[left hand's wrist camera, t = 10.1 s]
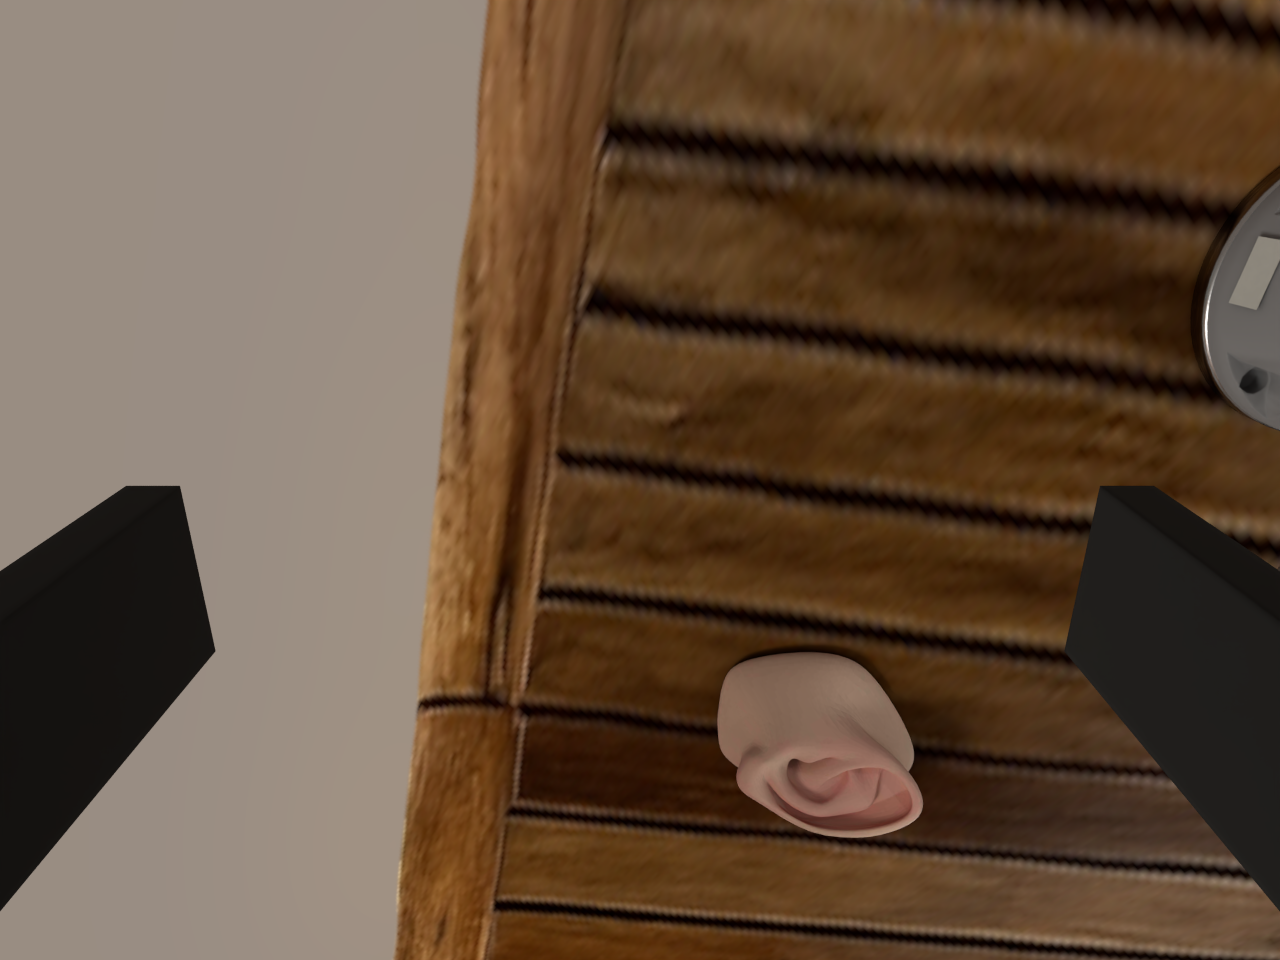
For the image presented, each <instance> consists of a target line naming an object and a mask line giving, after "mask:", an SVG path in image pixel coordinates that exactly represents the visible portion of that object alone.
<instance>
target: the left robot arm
mask: <svg viewBox="0 0 1280 960" xmlns="http://www.w3.org/2000/svg"><path fill="white" fill-rule="evenodd" d="M1191 336H1192V343H1193V348H1194V352H1195V356H1196V360H1197V362H1198V365H1199V367H1200V370H1201V372H1202V374H1203V376H1204V377H1205V379H1206V381H1207V382H1208V384H1209V385H1210V387H1211V388H1212V390H1213V391H1214V392H1215V393H1216V394H1217V395H1218V396H1219V397H1220V398H1221V399H1222V400H1223V401H1224V402H1225V403H1226V404H1227V405H1229V406H1230V407H1231V408H1233V409H1234V410H1236V411H1237V412H1239V413H1240V414H1242V415H1244V416H1246V417H1248V418H1250V419H1252V420H1255V421H1257V422H1259V423H1261V424H1263V425H1266V426H1268V427H1271V428H1273V429H1276V430H1279V431H1280V168H1278V169H1277V170H1276V171H1274V172H1273V173H1272V174H1271V175H1269V176H1268V177H1267V178H1266V179H1264V180H1263V181H1262V182H1261V183H1260V184H1259V185H1258V186H1257V187H1256V188H1254V189H1253V190H1252V191H1251V192H1250V193H1249V194H1248V195H1247V197H1246V198H1245V199H1244V200H1243V201H1242V202H1241V203H1240V204H1239V205H1238V206H1237V208H1236V209H1235V210H1234V211H1233V213H1232V214H1231V215H1230V216H1229V218H1228V219H1227V221H1226V222H1225V224H1224V225H1223V227H1222V228H1221V229H1220V231H1219V232H1218V234H1217V236H1216V238H1215V239H1214V241H1213V243H1212V245H1211V247H1210V249H1209V251H1208V253H1207V255H1206V257H1205V259H1204V262H1203V264H1202V267H1201V270H1200V272H1199V275H1198V279H1197V282H1196V286H1195V290H1194V295H1193V301H1192V308H1191ZM214 652H215V647H214V642H213V637H212V633H211V628H210V623H209V619H208V614H207V609H206V605H205V600H204V596H203V591H202V586H201V582H200V577H199V572H198V568H197V563H196V559H195V554H194V549H193V544H192V540H191V535H190V531H189V526H188V521H187V517H186V512H185V507H184V503H183V498H182V493H181V489H180V486H125V487H124V488H122V489H121V490H120V491H118V492H117V493H115V494H114V495H112V496H111V497H109V498H108V499H106V500H105V501H103V502H102V503H100V504H99V505H97V506H96V507H94V508H93V509H91V510H90V511H88V512H87V513H85V514H84V515H83V516H81V517H80V518H78V519H77V520H75V521H74V522H72V523H71V524H69V525H68V526H66V527H65V528H63V529H62V530H60V531H59V532H57V533H56V534H54V535H53V536H52V537H50V538H49V539H47V540H46V541H44V542H43V543H41V544H40V545H38V546H37V547H35V548H34V549H32V550H31V551H29V552H28V553H26V554H25V555H23V556H22V557H20V558H19V559H18V560H16V561H15V562H13V563H12V564H10V565H9V566H7V567H6V568H4V569H3V570H1V571H0V911H1V910H2V908H3V907H4V906H5V905H6V904H7V902H8V901H9V900H10V899H11V898H12V896H13V895H14V894H15V893H16V891H17V890H18V889H19V888H20V887H21V885H22V884H23V883H24V882H25V881H26V879H27V878H28V877H29V876H30V875H31V873H32V872H33V871H34V870H35V869H36V867H37V866H38V865H39V864H40V862H41V861H42V860H43V859H44V858H45V856H46V855H47V854H48V853H49V852H50V850H51V849H52V848H53V847H54V846H55V844H56V843H57V842H58V841H59V840H60V838H61V837H62V836H63V835H64V833H65V832H66V831H67V830H68V829H69V827H70V826H71V825H72V824H73V823H74V821H75V820H76V819H77V818H78V817H79V815H80V814H81V813H82V812H83V810H84V809H85V808H86V807H87V806H88V805H89V803H90V802H91V801H92V800H93V798H94V797H95V796H96V795H97V794H98V792H99V791H100V790H101V789H102V787H103V786H104V785H105V784H106V783H107V782H108V780H109V779H110V778H111V777H112V775H113V774H114V773H115V772H116V771H117V769H118V768H119V767H120V766H121V765H122V763H123V762H124V761H125V760H126V759H127V757H128V756H129V755H130V754H131V753H132V751H133V750H134V749H135V748H136V747H137V745H138V744H139V743H140V742H141V740H142V739H143V738H144V737H145V736H146V734H147V733H148V732H149V731H150V730H151V728H152V727H153V726H154V725H155V724H156V722H157V721H158V720H159V719H160V717H161V716H162V715H163V714H164V713H165V711H166V710H167V709H168V708H169V707H170V705H171V704H172V703H173V702H174V701H175V699H176V698H177V697H178V696H179V695H180V693H181V692H182V691H183V690H184V689H185V687H186V686H187V685H188V684H189V682H190V681H191V680H192V679H193V678H194V676H195V675H196V674H197V673H198V672H199V670H200V669H201V668H202V667H203V666H204V664H205V663H206V662H207V661H208V660H209V658H210V657H211V656H212V655H213V654H214ZM1065 652H1066V654H1067V655H1068V656H1069V657H1070V658H1071V660H1072V661H1073V662H1074V663H1075V664H1076V666H1077V667H1078V668H1079V669H1080V670H1081V672H1082V673H1083V674H1084V675H1085V676H1086V678H1087V679H1088V680H1089V681H1090V683H1091V684H1092V685H1093V686H1094V687H1095V689H1096V690H1097V691H1098V692H1099V693H1100V695H1101V696H1102V697H1103V698H1104V699H1105V701H1106V702H1107V703H1108V704H1109V705H1110V707H1111V708H1112V709H1113V710H1114V711H1115V713H1116V714H1117V715H1118V716H1119V718H1120V719H1121V720H1122V721H1123V722H1124V724H1125V725H1126V726H1127V727H1128V728H1129V730H1130V731H1131V732H1132V733H1133V734H1134V736H1135V737H1136V738H1137V739H1138V740H1139V742H1140V743H1141V744H1142V745H1143V747H1144V748H1145V749H1146V750H1147V751H1148V753H1149V754H1150V755H1151V756H1152V757H1153V759H1154V760H1155V761H1156V762H1157V763H1158V765H1159V766H1160V767H1161V768H1162V769H1163V771H1164V772H1165V773H1166V774H1167V776H1168V777H1169V778H1170V779H1171V780H1172V782H1173V783H1174V784H1175V785H1176V786H1177V788H1178V789H1179V790H1180V791H1181V792H1182V794H1183V795H1184V796H1185V797H1186V798H1187V800H1188V801H1189V802H1190V803H1191V805H1192V806H1193V807H1194V808H1195V809H1196V811H1197V812H1198V813H1199V814H1200V815H1201V817H1202V818H1203V819H1204V820H1205V821H1206V823H1207V824H1208V825H1209V826H1210V827H1211V829H1212V830H1213V831H1214V832H1215V834H1216V835H1217V836H1218V837H1219V838H1220V840H1221V841H1222V842H1223V843H1224V844H1225V846H1226V847H1227V848H1228V849H1229V850H1230V852H1231V853H1232V854H1233V855H1234V856H1235V858H1236V859H1237V860H1238V861H1239V863H1240V864H1241V865H1242V866H1243V867H1244V869H1245V870H1246V871H1247V872H1248V873H1249V875H1250V876H1251V877H1252V878H1253V879H1254V881H1255V882H1256V883H1257V884H1258V885H1259V887H1260V888H1261V889H1262V890H1263V891H1264V893H1265V894H1266V895H1267V896H1268V898H1269V899H1270V900H1271V901H1272V902H1273V904H1274V905H1275V906H1276V907H1277V908H1278V910H1279V911H1280V567H1279V568H1278V569H1276V568H1274V567H1273V566H1271V565H1270V564H1268V563H1267V562H1265V561H1264V560H1262V559H1261V558H1260V557H1258V556H1257V555H1255V554H1254V553H1252V552H1251V551H1249V550H1248V549H1246V548H1245V547H1243V546H1242V545H1240V544H1239V543H1237V542H1236V541H1234V540H1233V539H1231V538H1230V537H1228V536H1227V535H1226V534H1224V533H1223V532H1221V531H1220V530H1218V529H1217V528H1215V527H1214V526H1212V525H1211V524H1209V523H1208V522H1206V521H1205V520H1203V519H1202V518H1200V517H1199V516H1197V515H1196V514H1195V513H1193V512H1192V511H1190V510H1189V509H1187V508H1186V507H1184V506H1183V505H1181V504H1180V503H1178V502H1177V501H1175V500H1174V499H1172V498H1171V497H1169V496H1168V495H1166V494H1165V493H1163V492H1162V491H1161V490H1159V489H1158V488H1156V487H1155V486H1100V489H1099V493H1098V498H1097V503H1096V507H1095V512H1094V517H1093V521H1092V526H1091V531H1090V535H1089V540H1088V544H1087V549H1086V554H1085V558H1084V563H1083V568H1082V572H1081V577H1080V582H1079V586H1078V591H1077V596H1076V600H1075V605H1074V609H1073V614H1072V619H1071V623H1070V628H1069V633H1068V637H1067V642H1066V647H1065Z"/></svg>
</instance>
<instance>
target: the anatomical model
mask: <svg viewBox="0 0 1280 960" xmlns="http://www.w3.org/2000/svg"><path fill="white" fill-rule="evenodd" d="M717 721H718V738H719V744H720V748H721V750H722V752H723V754H724V755H725V756H726V757H727V759H728V760H730V761H731V762H732V763H733V764H734V765H736V766H737V767H738V770H737V783H738V785H739V787H740V789H741V790H742V791H743V792H744V793H745V794H746V795H748V796H749V797H750V798H752V799H754V800H755V801H757V802H759V803H760V804H762V805H763V806H765V807H767V808H768V809H770V810H771V811H773V812H774V813H776V814H778V815H779V816H781V817H782V818H784V819H786V820H788V821H789V822H791V823H793V824H795V825H797V826H799V827H801V828H803V829H806V830H808V831H811V832H814V833H819V834H823V835H828V836H837V837H870V836H876V835H881V834H885V833H889V832H892V831H895V830H898V829H900V828H902V827H904V826H906V825H908V824H910V823H912V822H913V821H914V820H916V819H917V818H918V816H919V815H920V813H921V811H922V807H923V801H922V796H921V793H920V790H919V788H918V786H917V784H916V782H915V781H914V779H913V778H912V776H911V775H910V773H909V772H908V771H909V770H910V768H911V766H912V764H913V760H914V750H913V745H912V742H911V739H910V736H909V734H908V732H907V730H906V728H905V725H904V723H903V721H902V719H901V718H900V716H899V714H898V712H897V711H896V709H895V707H894V706H893V704H892V702H891V701H890V699H889V698H888V696H887V695H886V693H885V692H884V690H883V689H882V688H881V686H880V685H879V684H878V682H877V681H876V680H875V679H874V678H873V677H872V675H871V674H870V673H869V672H868V671H867V670H866V669H864V668H863V667H862V666H861V665H859V664H858V663H856V662H855V661H852V660H850V659H848V658H845V657H842V656H839V655H834V654H829V653H818V652H796V653H783V654H776V655H768V656H763V657H758V658H753V659H750V660H746V661H744V662H742V663H739V664H738V665H736V666H735V667H733V668H732V669H731V670H730V671H729V672H728V674H727V675H726V677H725V680H724V682H723V686H722V690H721V695H720V702H719V709H718V720H717Z"/></svg>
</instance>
